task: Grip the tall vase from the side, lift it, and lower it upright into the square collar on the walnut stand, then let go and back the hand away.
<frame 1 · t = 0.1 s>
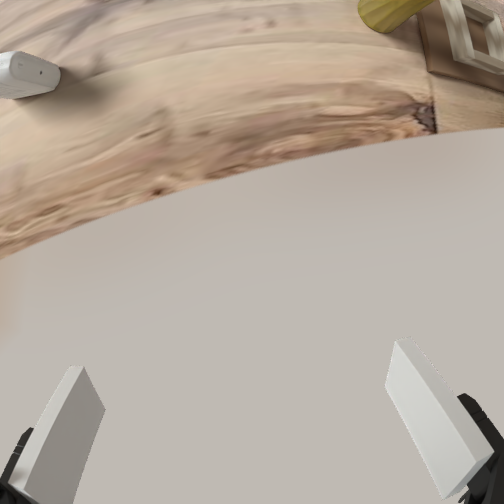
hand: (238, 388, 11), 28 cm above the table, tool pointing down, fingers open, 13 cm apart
vase: (376, 15, 29), on the table
stand: (466, 38, 29), on the table
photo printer: (35, 82, 29), on the table
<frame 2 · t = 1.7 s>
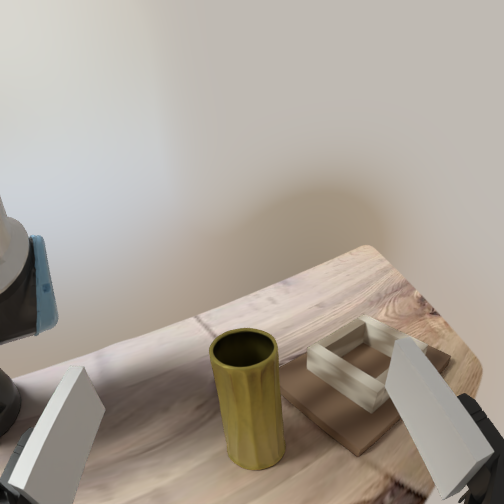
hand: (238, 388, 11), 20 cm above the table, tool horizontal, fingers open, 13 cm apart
vase: (256, 448, 27), on the table
stand: (365, 376, 36), on the table
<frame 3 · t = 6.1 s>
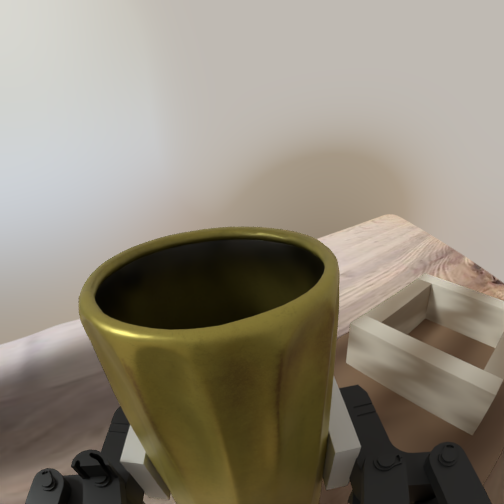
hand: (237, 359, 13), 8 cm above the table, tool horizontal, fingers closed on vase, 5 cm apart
stand: (438, 371, 19), on the table
when the fingers open (10 cm above the table, at t = 10.9 s): vase drops 1 cm, resting on stand.
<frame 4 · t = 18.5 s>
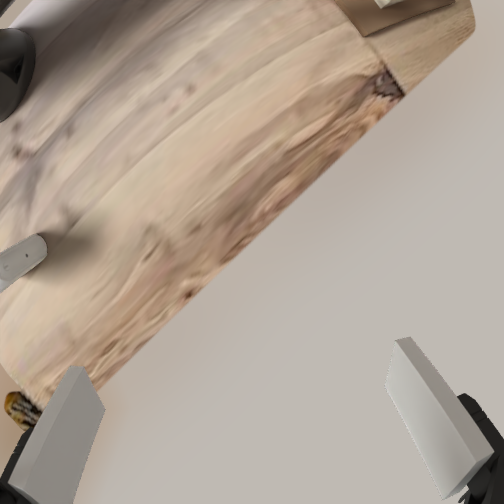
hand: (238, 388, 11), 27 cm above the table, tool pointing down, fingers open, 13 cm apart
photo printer: (27, 255, 36), on the table
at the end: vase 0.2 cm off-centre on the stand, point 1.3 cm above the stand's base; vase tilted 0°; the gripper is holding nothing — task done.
